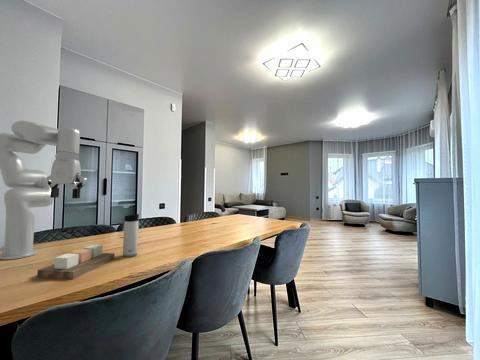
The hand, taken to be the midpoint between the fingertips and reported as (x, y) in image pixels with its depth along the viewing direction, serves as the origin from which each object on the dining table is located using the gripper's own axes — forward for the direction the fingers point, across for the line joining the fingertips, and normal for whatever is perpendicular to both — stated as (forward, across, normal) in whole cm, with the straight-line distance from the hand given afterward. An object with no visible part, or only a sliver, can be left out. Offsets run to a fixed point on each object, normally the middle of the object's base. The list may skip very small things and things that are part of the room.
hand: (65, 197), depth 90 cm
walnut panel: (+28, +9, -1) cm, 29 cm away
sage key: (+25, +9, +6) cm, 28 cm away
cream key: (+25, +9, -7) cm, 28 cm away
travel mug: (+28, +20, +16) cm, 38 cm away
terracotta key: (+25, +9, -1) cm, 27 cm away
